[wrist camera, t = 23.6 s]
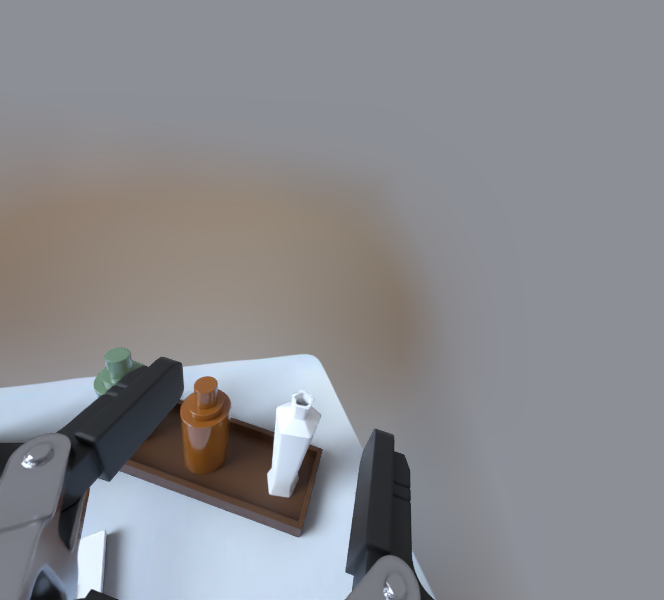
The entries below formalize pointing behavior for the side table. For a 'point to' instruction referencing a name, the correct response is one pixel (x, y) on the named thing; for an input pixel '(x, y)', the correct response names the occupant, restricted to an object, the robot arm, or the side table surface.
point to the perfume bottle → (291, 442)
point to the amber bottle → (205, 427)
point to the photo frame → (91, 564)
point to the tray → (227, 473)
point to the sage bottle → (114, 369)
